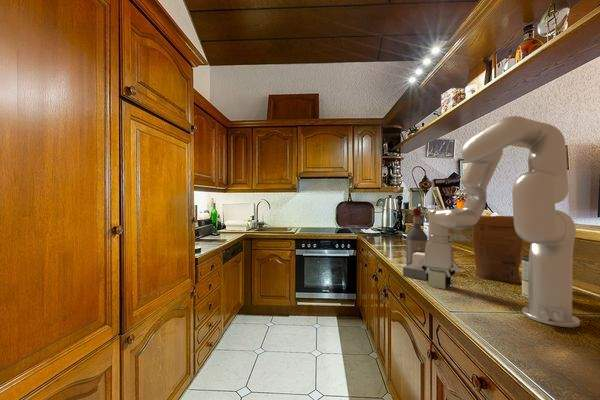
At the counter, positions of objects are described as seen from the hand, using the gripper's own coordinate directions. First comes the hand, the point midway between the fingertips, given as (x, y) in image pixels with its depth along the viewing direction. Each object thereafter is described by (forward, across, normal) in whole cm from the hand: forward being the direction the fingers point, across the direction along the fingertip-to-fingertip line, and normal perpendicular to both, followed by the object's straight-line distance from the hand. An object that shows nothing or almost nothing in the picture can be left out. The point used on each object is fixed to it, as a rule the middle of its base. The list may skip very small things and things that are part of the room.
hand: (438, 284), depth 113 cm
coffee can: (+1, -31, -9) cm, 32 cm away
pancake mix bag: (+1, -17, -27) cm, 32 cm away
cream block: (-3, +10, -11) cm, 15 cm away
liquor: (+1, +17, -27) cm, 32 cm away
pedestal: (+1, +10, -11) cm, 15 cm away
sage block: (+1, 0, 0) cm, 1 cm away
